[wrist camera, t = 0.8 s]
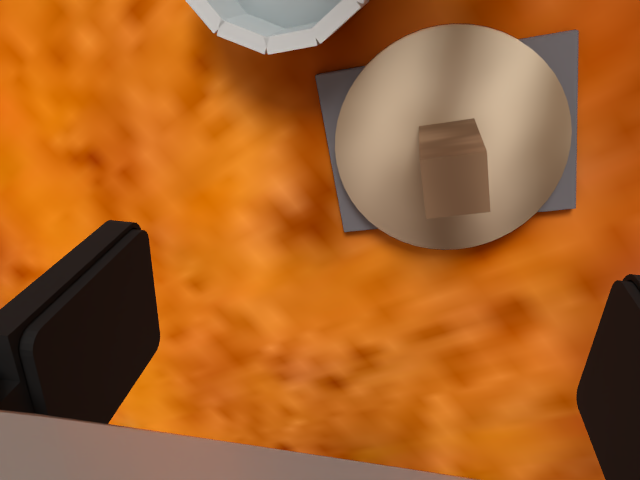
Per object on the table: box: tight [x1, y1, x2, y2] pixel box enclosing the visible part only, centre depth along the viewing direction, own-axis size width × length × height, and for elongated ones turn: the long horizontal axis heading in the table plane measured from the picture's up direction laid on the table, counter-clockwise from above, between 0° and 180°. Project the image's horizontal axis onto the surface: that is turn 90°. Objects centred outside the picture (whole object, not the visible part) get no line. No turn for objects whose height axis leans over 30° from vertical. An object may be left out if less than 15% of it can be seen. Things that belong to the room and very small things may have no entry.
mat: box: [315, 30, 578, 232], centre depth 32 cm, size 14×10×1 cm
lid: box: [335, 23, 572, 250], centre depth 28 cm, size 13×13×7 cm
